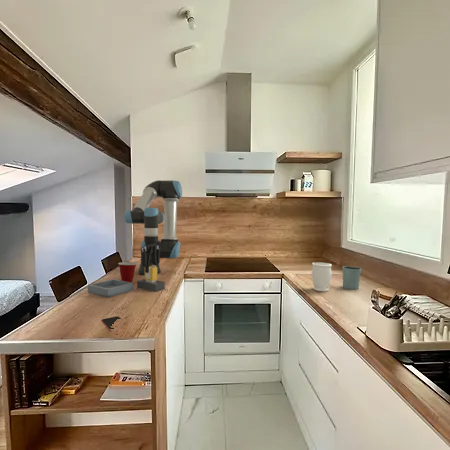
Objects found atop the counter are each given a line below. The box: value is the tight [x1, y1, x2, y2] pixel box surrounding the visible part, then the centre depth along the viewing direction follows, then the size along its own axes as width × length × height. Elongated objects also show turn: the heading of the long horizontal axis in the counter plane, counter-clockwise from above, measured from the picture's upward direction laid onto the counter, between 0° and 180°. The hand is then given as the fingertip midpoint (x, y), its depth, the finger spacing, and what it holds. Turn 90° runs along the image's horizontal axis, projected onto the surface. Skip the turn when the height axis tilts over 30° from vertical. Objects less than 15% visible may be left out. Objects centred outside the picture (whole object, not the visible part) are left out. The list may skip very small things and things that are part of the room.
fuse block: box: [136, 278, 166, 292], centre depth 160 cm, size 7×14×4 cm, turn 60°
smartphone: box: [100, 316, 122, 332], centre depth 110 cm, size 7×1×14 cm
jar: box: [311, 261, 333, 292], centre depth 164 cm, size 11×10×15 cm
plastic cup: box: [117, 261, 138, 283], centre depth 172 cm, size 11×11×12 cm
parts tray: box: [87, 278, 134, 298], centre depth 153 cm, size 16×16×4 cm
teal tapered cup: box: [341, 265, 362, 291], centre depth 170 cm, size 10×10×12 cm
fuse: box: [144, 266, 158, 283], centre depth 160 cm, size 4×6×12 cm, turn 60°
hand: (150, 277), depth 160 cm, fingers closed on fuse, 4 cm apart
